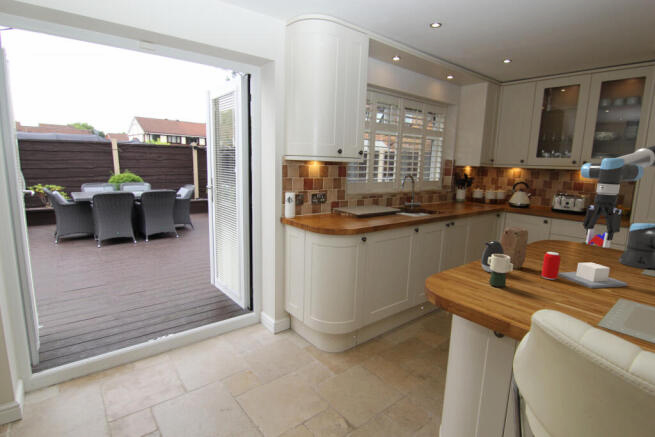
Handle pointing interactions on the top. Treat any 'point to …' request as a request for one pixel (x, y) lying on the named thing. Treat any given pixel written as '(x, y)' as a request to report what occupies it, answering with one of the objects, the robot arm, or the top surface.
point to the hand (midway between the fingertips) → (597, 244)
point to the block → (515, 245)
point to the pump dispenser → (490, 253)
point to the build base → (590, 283)
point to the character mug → (499, 269)
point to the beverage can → (551, 265)
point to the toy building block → (597, 240)
